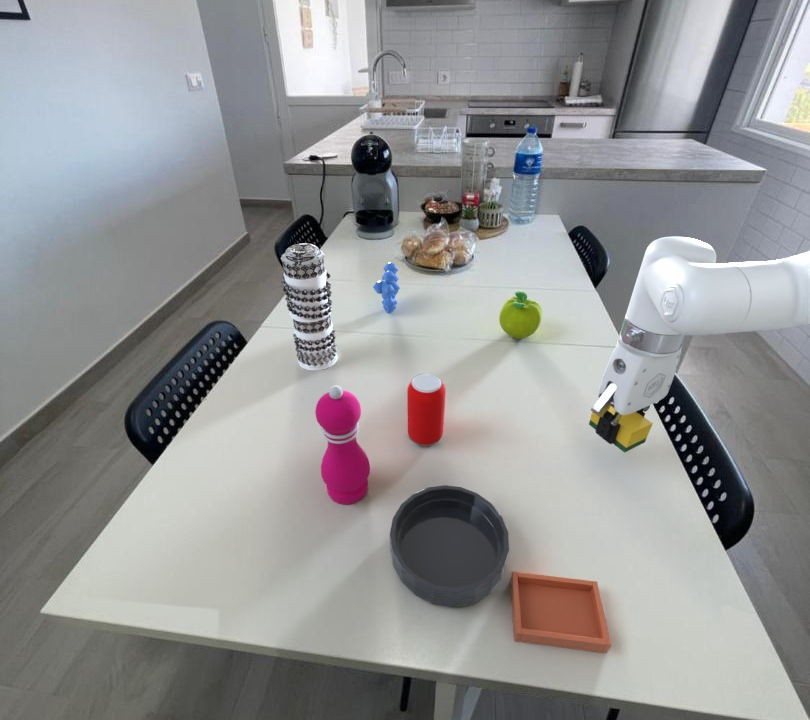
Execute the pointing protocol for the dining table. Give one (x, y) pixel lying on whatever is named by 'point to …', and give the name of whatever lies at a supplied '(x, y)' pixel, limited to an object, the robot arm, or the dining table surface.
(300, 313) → the decorative candle
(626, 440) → the sponge
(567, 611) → the soap dish
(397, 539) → the pan
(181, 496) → the dining table surface
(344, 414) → the pepper mill
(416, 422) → the beverage can
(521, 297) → the fruit
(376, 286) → the grapes
